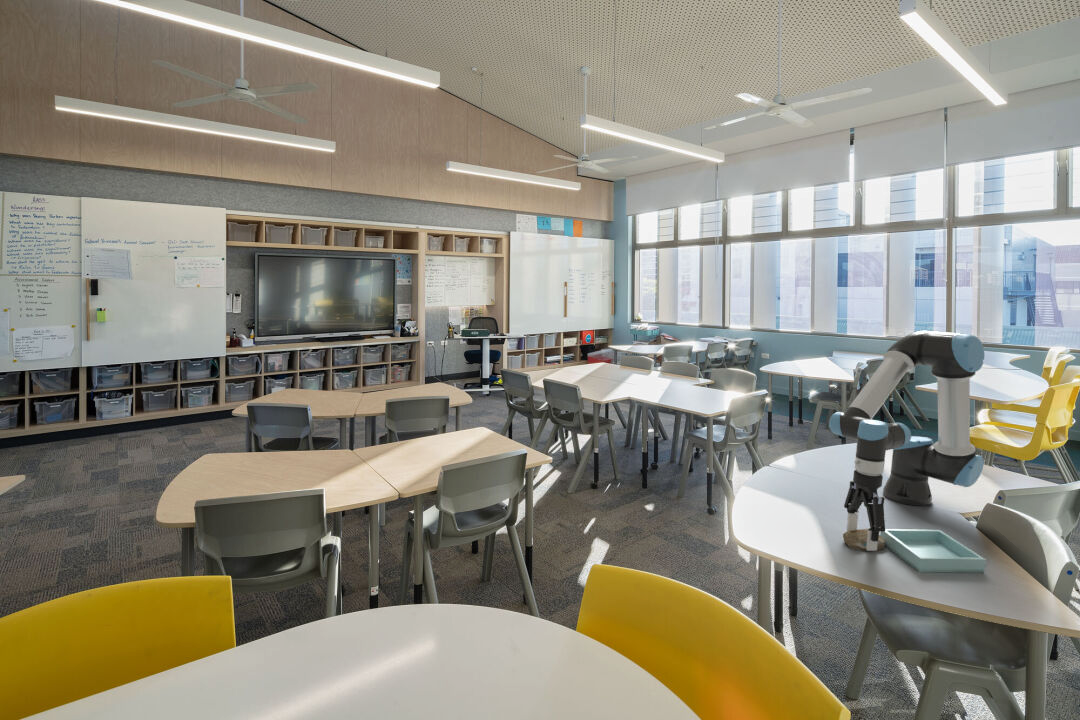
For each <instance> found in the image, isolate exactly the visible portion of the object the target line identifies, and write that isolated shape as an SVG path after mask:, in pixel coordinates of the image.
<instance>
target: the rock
mask: <svg viewBox="0 0 1080 720" xmlns="http://www.w3.org/2000/svg"><path fill="white" fill-rule="evenodd" d="M868 529H869V528H861V529H858V528H857V530H850V531H848V532H844V533H843V534H842V537H843V542H844V543H845V544H846V545H847V546H848V547H849V548H850V549H852V550H857V551H862V552H868V551H867V550H866V545H867V536H868ZM885 541H886V540H885V539H884V538H882V537H881V536H880V534H879V538H878V543H877V551H879V550H884V548H885V547H886V546H885V544H886V542H885Z"/></svg>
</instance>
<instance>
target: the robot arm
mask: <svg viewBox="0 0 1080 720" xmlns="http://www.w3.org/2000/svg"><path fill="white" fill-rule="evenodd" d="M984 360H985V348H984V345H983V343H982V341H981V339H980V338H979V337H978V336H976V335H973V334H965V333H962V332H956V333H955V332H946V331H944V332H943V331H942V332H941V331H934V330H933V331H931V330H919V331H918V330H917V331H915V332H911V333H910V334H907V335H905V336H904V337H902V338H900V339H898V340H897V341H896V342H894V343H893V344H892V345H891V346H890V347H889V348H888V349H887V350H886V351H885V352H884V355H883V361H882V362H881V363H880V365H879V366H878V368H877V369H876V370H875V372H874V373H873V374H872V376H871V377H870V378H869V380H868V381H867V383H866V384H865V385H864V386H863V387H862V389H861V390H860V391H859V393H858V394H857V396H856V397H855V398H854V400H853V401H852V402H851V403H850V405H849V406H848V408H846V410H845V412H843V411H836V412H835V413H834V412H833V414H832V415H831V416H830V418H829V422H828V423H829V424H828V427H829V429H830V431H831V433H833V435H834V434H835V435H838V436H841V437H843V438H848V439H851V440H855V441H856V448H855V449H856V451H855V460H854V469H855V470H853V476H852V477H853V478H852V480H850V481H849V488H848V491H847V495H846V498H845V501H844V505H843V508H845V509H846V511H847V523H846V532H848V531H850V530H858V521H859V514H858V513H859V509H860V508H861V506H862V504H863V506H864V507H865V508H866V512H867V518H868V524H869V528H867V529H868V536H867V545H866V550H867V551H866V550H865V551H866V552H869V551H870V552H871V551H874V552H877V551H878V550H877V543H878V538H879V535H880V533H881V531H885V529H886V523H885V521H886V520H885V509H884V508H885V507H884V504H885V498H884V497H886V498H888V499H889V500H892V501H894V502H897V503H901V504H903V505H910V506H919V507H922V506H923V507H924V506H929V505H931V504H932V502H933V501H932V500H933V495H932V492H931V488H930V485H929V478H932V479H935V480H938V481H942V482H945V483H949V484H952V485H954V486H959V487H964V488H970V487H971V486H973V485H974V484H976V483H977V481H978V479H979V478H980V477H981V474H982V471H983V469H984V465H985V460H984V458H983V456H981V455H980V454H976V446H975V445H974V444H972V443H971V441H970V440H971V439H970V437H971V433H970V432H971V430H970V429H971V426H970V425H971V424H970V423H971V419H970V418H971V417H970V416H971V414H970V413H971V412H970V411H971V410H970V408H971V405H970V402H971V401H970V397H971V394H970V388H971V387H970V386H971V385H970V382H971V381H970V380H971V379H972V378H973V377H974V376H975V375H976V372H978V371H980V370H981V369H982V367H983V365H984ZM916 366H927V367H930V368H931V375H932V376H933V377H935V378H936V382H937V383H936V384H937V386H936V387H937V389H936V390H937V426H938V427H937V429H938V431H937V432H938V433H937V434H938V435H937V436H938V438H937V439H938V440H937V441H936V442H934V440H933V439H932V438H929V437H926V436H925V437H924V436H918V435H917V436H915V435H913V436H912V432H911V430H910V428H909V427H908V426H907V425H905V424H904V423H901V422H895V421H894V422H890V423H889V422H885V421H882V420H877V419H873V418H874V417H875V415H876V414H877V412H879V410H880V409H881V407H882V406H883V405H884V403H885V402H886V400H887V399H888V397H889V396H890V395H891V394H892V392H893V391H894V389H896V387H897V386H898V384H899V383H900V381H901V380H902V379H903V378H904V376H905V375H906V373H909V372H912V370H913V369H914V368H915V367H916ZM889 450H892V456H891V466H890V467H891V468H890V475H889V477H888V478H887V480H886V482H885V485H884V486H883V478H884V475H883V474H884V471H885V462H886V461H885V460H886V459H885V458H886V452H887V451H889ZM882 486H883V488H882ZM879 488H882V495H883V496H879V494H878V489H879Z"/></svg>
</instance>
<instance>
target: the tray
mask: <svg viewBox="0 0 1080 720" xmlns="http://www.w3.org/2000/svg"><path fill="white" fill-rule="evenodd" d="M879 535H880V536H881V537H882V538H884V539H885V540H886V541H885V542H886V544H885V547H887V548H888V549H889V550H890V551H892V552H893V553H894V554H895V555H896V556H898V557H900V559H901V560H903V561H905V562H906V563H907V564H908V565H909V566H911V567H912V568H913V569H915V570H916V571H917V572H919V573H961V574H962V573H966V574H975V573H977V574H984V573H985V570H986V569H985V568H986V561H987V559H986V558H985V557H983V556H981V555H979V554H978V553H976V551H974V550H972V549H970V548H969V547H967V546H966V545H964V544H963V543H961V542H959V541H958V540H956V539H955V538H954V537H951V536H950V535H948V534H947V533H945V532H944V531H942V530H940V529H911V528H909V529H905V528H903V529H902V528H885V531H880V533H879Z"/></svg>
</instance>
